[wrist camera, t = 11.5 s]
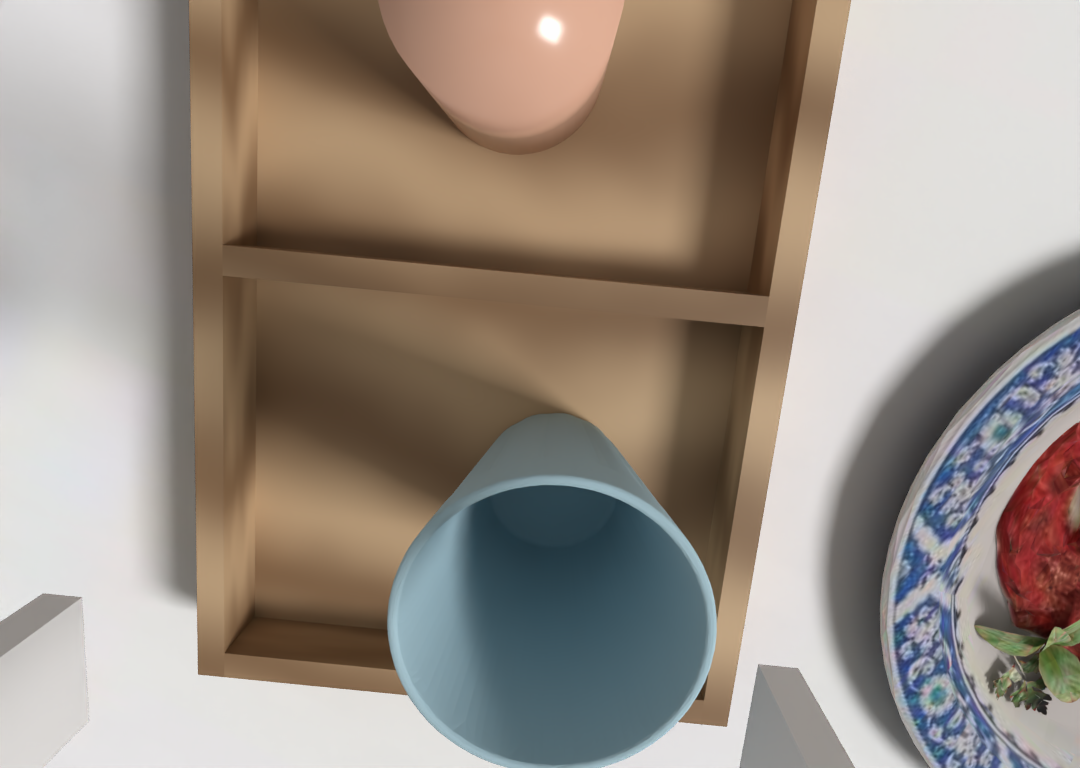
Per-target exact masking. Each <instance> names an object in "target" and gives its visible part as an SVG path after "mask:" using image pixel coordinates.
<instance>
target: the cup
mask: <svg viewBox="0 0 1080 768" xmlns="http://www.w3.org/2000/svg"><path fill="white" fill-rule="evenodd" d="M387 630H388V640H389V646H390V652H391V655H392V659H393V663H394V666H395V669H396V672H397V674H398V677H399V679H400V681H401V683H402V685H403V687H404V689H405V691H406V692H407V694H408V696H409V698H410V699H411V701H412V702H413V703H414V705H415V706H416V707H417V709H418V710H419V711H420V713H421V714H422V715H423V716H424V717H425V718H426V720H427V721H428V722H429V723H430V724H431V725H432V726H433V727H434V728H435V729H436V730H437V731H439V732H440V733H441V734H443V735H444V736H445V737H446V738H448V739H449V740H450V741H452V742H453V743H455V744H456V745H458V746H459V747H461V748H462V749H464V750H466V751H468V752H469V753H471V754H473V755H475V756H477V757H479V758H481V759H484V760H486V761H489V762H491V763H494V764H497V765H501V766H504V767H507V768H601V767H605V766H608V765H611V764H614V763H617V762H619V761H622V760H624V759H626V758H628V757H630V756H632V755H634V754H636V753H638V752H640V751H642V750H643V749H645V748H647V747H648V746H650V745H651V744H653V743H654V742H656V741H657V740H658V739H659V738H661V737H662V736H663V735H665V734H666V733H667V732H668V731H669V730H670V729H671V728H672V727H674V726H675V724H676V723H677V722H678V721H679V720H680V719H681V718H682V717H683V716H684V714H685V713H686V712H687V711H688V709H689V708H690V707H691V705H692V703H693V702H694V700H695V699H696V697H697V696H698V694H699V692H700V690H701V688H702V686H703V684H704V682H705V680H706V677H707V675H708V672H709V670H710V667H711V663H712V659H713V655H714V651H715V644H716V634H717V619H716V607H715V600H714V595H713V591H712V587H711V584H710V581H709V578H708V576H707V574H706V571H705V569H704V566H703V564H702V562H701V561H700V559H699V557H698V555H697V553H696V552H695V550H694V548H693V547H692V545H691V544H690V542H689V541H688V540H687V538H686V537H685V536H684V534H683V533H682V532H681V530H680V529H679V528H678V526H677V525H676V524H675V523H674V521H673V520H672V519H671V517H670V516H669V515H668V513H667V512H666V511H665V510H664V509H663V507H662V506H661V505H660V504H659V503H658V501H657V500H656V499H655V497H654V496H653V495H652V493H651V492H650V491H649V490H648V488H647V487H646V486H645V484H644V483H643V482H642V480H641V479H640V478H639V476H638V475H637V474H636V472H635V471H634V470H633V468H632V467H631V466H630V465H629V463H628V462H627V461H626V459H625V458H624V457H623V455H622V454H621V453H620V452H619V450H618V449H617V448H616V447H615V445H614V444H613V443H612V442H611V441H610V440H609V439H608V438H607V437H606V436H605V435H604V434H603V432H602V431H601V430H600V429H599V428H598V427H596V426H595V425H593V424H592V423H590V422H588V421H585V420H582V419H580V418H577V417H575V416H573V415H569V414H565V413H551V414H537V415H533V416H530V417H527V418H525V419H523V420H522V421H520V422H518V423H516V424H514V425H512V426H510V427H509V428H508V429H506V430H505V431H504V432H503V433H502V434H501V435H500V436H499V437H498V438H497V440H496V441H495V442H494V443H493V444H492V446H491V447H490V448H489V449H488V451H487V452H486V453H485V454H484V456H483V457H482V458H481V459H480V461H479V462H478V463H477V464H476V466H475V467H474V468H473V469H472V471H471V472H470V473H469V474H468V476H467V477H466V478H465V479H464V480H463V482H462V483H461V484H460V485H459V487H458V488H457V489H456V490H455V492H454V493H453V494H452V495H451V496H450V497H449V498H448V499H447V500H446V501H445V502H444V504H443V505H442V506H441V507H440V508H439V510H438V511H437V512H436V513H435V514H434V516H433V517H432V518H431V519H430V521H429V522H428V523H427V524H426V525H425V527H424V528H423V529H422V530H421V531H420V533H419V534H418V535H417V537H416V538H415V539H414V541H413V542H412V544H411V545H410V547H409V548H408V550H407V552H406V553H405V555H404V557H403V559H402V561H401V563H400V566H399V568H398V570H397V573H396V576H395V578H394V581H393V585H392V589H391V593H390V598H389V604H388V615H387Z"/></svg>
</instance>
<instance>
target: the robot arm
mask: <svg viewBox="0 0 1080 768" xmlns="http://www.w3.org/2000/svg"><path fill="white" fill-rule="evenodd" d="M88 722H89V705H88V688H87V671H86V654H85V637H84V620H83V603H82V597H74V596H64V595H53V594H41V595H40V596H38V597H37V598H36V599H34V600H33V601H31V602H30V603H28V604H27V605H25V606H24V607H22V608H21V609H19V610H18V611H16V612H15V613H13V614H12V615H10V616H9V617H7V618H6V619H4V620H3V621H1V622H0V768H43V767H44V766H45V765H46V764H47V763H48V762H49V761H50V760H51V759H52V758H53V757H54V756H55V755H56V754H57V753H58V752H59V751H60V750H61V749H62V748H63V747H64V746H65V745H66V744H67V743H68V742H69V741H70V740H71V739H72V738H73V737H74V736H75V735H76V734H77V733H78V732H79V731H80V730H81V729H82V728H83V727H84V726H85V725H86V724H87V723H88ZM740 768H855V767H854V765H853V764H852V762H851V760H850V758H849V757H848V755H847V753H846V751H845V750H844V748H843V746H842V744H841V743H840V741H839V739H838V737H837V736H836V734H835V732H834V730H833V729H832V727H831V725H830V723H829V722H828V720H827V718H826V716H825V715H824V713H823V711H822V709H821V708H820V706H819V704H818V702H817V701H816V699H815V697H814V695H813V694H812V692H811V690H810V688H809V687H808V685H807V683H806V681H805V680H804V678H803V676H802V674H801V673H800V671H799V669H798V668H789V667H779V666H769V665H759V664H758V669H757V674H756V680H755V685H754V691H753V696H752V702H751V707H750V713H749V718H748V724H747V729H746V735H745V740H744V746H743V751H742V757H741V762H740Z"/></svg>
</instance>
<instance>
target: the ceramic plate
mask: <svg viewBox="0 0 1080 768" xmlns="http://www.w3.org/2000/svg"><path fill="white" fill-rule="evenodd" d="M880 636H881V644H882V652H883V660H884V666H885V670H886V674H887V678H888V682H889V686H890V690H891V693H892V696H893V698H894V701H895V704H896V706H897V709H898V712H899V714H900V717H901V719H902V721H903V723H904V725H905V727H906V729H907V731H908V733H909V735H910V737H911V739H912V741H913V743H914V745H915V746H916V748H917V749H918V751H919V752H920V754H921V755H922V757H923V758H924V760H925V761H926V763H927V764H928V766H929V767H930V768H1080V309H1078V310H1077V311H1075V312H1073V313H1072V314H1070V315H1068V316H1067V317H1065V318H1063V319H1062V320H1060V321H1059V322H1057V323H1055V324H1054V325H1052V326H1051V327H1050V328H1048V329H1047V330H1046V331H1044V332H1043V333H1042V334H1040V335H1039V336H1037V337H1036V338H1035V339H1033V340H1032V341H1031V342H1029V343H1028V344H1027V345H1025V346H1024V347H1023V348H1022V349H1020V350H1019V351H1018V352H1017V353H1016V354H1015V355H1014V356H1012V357H1011V358H1010V359H1009V360H1008V361H1007V362H1005V363H1004V364H1003V365H1002V366H1001V367H1000V368H999V369H997V370H996V371H995V372H994V373H993V374H992V375H991V377H990V378H989V379H988V380H987V381H986V382H985V383H984V384H983V385H982V386H981V387H980V388H979V389H978V390H977V391H976V393H975V394H974V395H973V396H972V397H971V398H970V399H969V400H968V401H967V402H966V403H965V404H964V405H963V406H962V407H961V409H960V410H959V411H958V412H957V413H956V415H955V416H954V418H953V419H952V421H951V422H950V423H949V425H948V426H947V428H946V429H945V431H944V432H943V434H942V435H941V436H940V438H939V439H938V441H937V442H936V444H935V445H934V447H933V448H932V449H931V451H930V452H929V454H928V455H927V457H926V459H925V461H924V463H923V464H922V466H921V468H920V470H919V472H918V474H917V476H916V477H915V479H914V481H913V483H912V485H911V487H910V489H909V492H908V494H907V496H906V499H905V501H904V504H903V506H902V508H901V511H900V513H899V515H898V518H897V522H896V525H895V528H894V531H893V534H892V538H891V541H890V544H889V548H888V553H887V558H886V563H885V568H884V573H883V579H882V590H881V600H880Z"/></svg>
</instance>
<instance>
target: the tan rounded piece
mask: <svg viewBox="0 0 1080 768" xmlns="http://www.w3.org/2000/svg"><path fill="white" fill-rule="evenodd" d="M378 3H379V7H380V11H381V15H382V18H383V22H384V24H385V27H386V29H387V32H388V34H389V37H390V39H391V40H392V42H393V44H394V46H395V48H396V50H397V52H398V53H399V54H400V56H401V57H402V59H403V60H404V62H405V63H406V64H407V66H408V67H409V68H410V70H411V71H412V72H413V73H414V75H415V76H416V77H417V78H418V80H419V81H420V82H421V83H422V85H423V86H424V87H425V89H426V90H427V91H428V92H429V94H430V95H431V96H432V97H433V99H434V100H435V101H436V102H437V104H438V105H439V106H440V107H441V109H442V110H443V111H444V113H445V114H446V115H447V116H448V118H449V119H450V120H451V121H452V123H453V124H454V125H455V126H456V127H457V128H458V129H459V130H460V131H461V132H462V133H463V134H464V135H465V136H467V137H468V138H469V139H471V140H472V141H474V142H475V143H477V144H478V145H480V146H483V147H485V148H487V149H489V150H492V151H496V152H499V153H504V154H510V155H524V154H533V153H537V152H541V151H544V150H547V149H549V148H552V147H554V146H556V145H558V144H559V143H561V142H563V141H564V140H566V139H567V138H568V137H570V136H571V135H572V134H573V133H574V132H575V131H576V130H577V129H578V128H579V127H580V126H581V125H582V124H583V123H584V122H585V120H586V119H587V118H588V116H589V115H590V113H591V111H592V110H593V108H594V106H595V104H596V102H597V99H598V97H599V95H600V91H601V88H602V84H603V81H604V77H605V73H606V70H607V66H608V62H609V59H610V55H611V51H612V47H613V44H614V40H615V36H616V33H617V29H618V25H619V22H620V18H621V14H622V10H623V6H624V0H378Z"/></svg>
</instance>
